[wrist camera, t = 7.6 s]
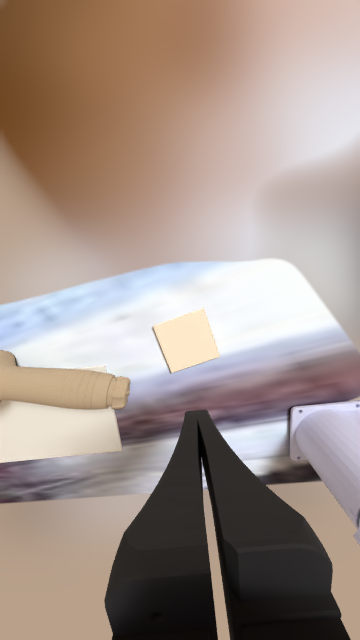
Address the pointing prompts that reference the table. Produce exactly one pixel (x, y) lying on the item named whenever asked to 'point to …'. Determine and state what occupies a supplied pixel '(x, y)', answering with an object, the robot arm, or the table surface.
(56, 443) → the felt mat
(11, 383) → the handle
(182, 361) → the beige tile
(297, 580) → the robot arm
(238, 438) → the table surface
